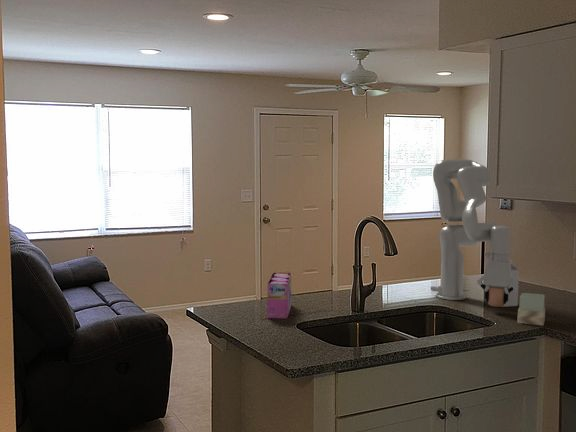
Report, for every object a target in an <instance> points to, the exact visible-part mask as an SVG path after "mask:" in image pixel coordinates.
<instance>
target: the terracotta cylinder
mask: <svg viewBox="0 0 576 432" xmlns="http://www.w3.org/2000/svg"><path fill="white" fill-rule="evenodd" d="M504 294H505V290H504V287H495V286H490V287H489V298H488V302H487V303H488V305H489V306H491V307H497V308H499V307H500V308H503V307H502V306H504Z"/></svg>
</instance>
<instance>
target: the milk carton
mask: <svg viewBox="0 0 576 432" xmlns="http://www.w3.org/2000/svg"><path fill="white" fill-rule="evenodd" d="M509 261H510V262H511V277H512V279H513V280H514V281H515V282H516V283H517V284H518V285H519V281H520V280H519V275H520V270H519V269H518V268H517V267H516V266H515V264H514V263H513V260H510V259H509ZM512 286H513V284H512V283H511V284H510V286H509V287H508V288H511V287H512ZM518 299H519V286H518V287H516V288H515V289H514V290H512V291H511V292H510V293H509V294H508V302H506V304H504V306H502V307H501V308H504V307H505V308H506V307H517V306H518V305H519V304H518V303H519V302H518Z"/></svg>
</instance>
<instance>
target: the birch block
mask: <svg viewBox="0 0 576 432" xmlns="http://www.w3.org/2000/svg"><path fill="white" fill-rule="evenodd" d="M545 319H546V307H544V309H543V312H535V311H525V310H519V308H518V309H517V320H516V321H517V324H523V323H524V324H525V325H532V326H533V325H535V326H542V327H543V326H544V324H545V321H546V320H545Z"/></svg>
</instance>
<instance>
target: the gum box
mask: <svg viewBox="0 0 576 432" xmlns="http://www.w3.org/2000/svg"><path fill="white" fill-rule="evenodd" d="M266 301H267V304H266V306H267V311H266V312H267V316H266V318H267V319H288V316H289V315H290V311H291V308H292V305H293V304H292V302H293V301H292V273H291V272H288V273H287V274H284V273H277V272H272V274H271V276H270V279H269V280H268V282H267V300H266Z"/></svg>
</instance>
